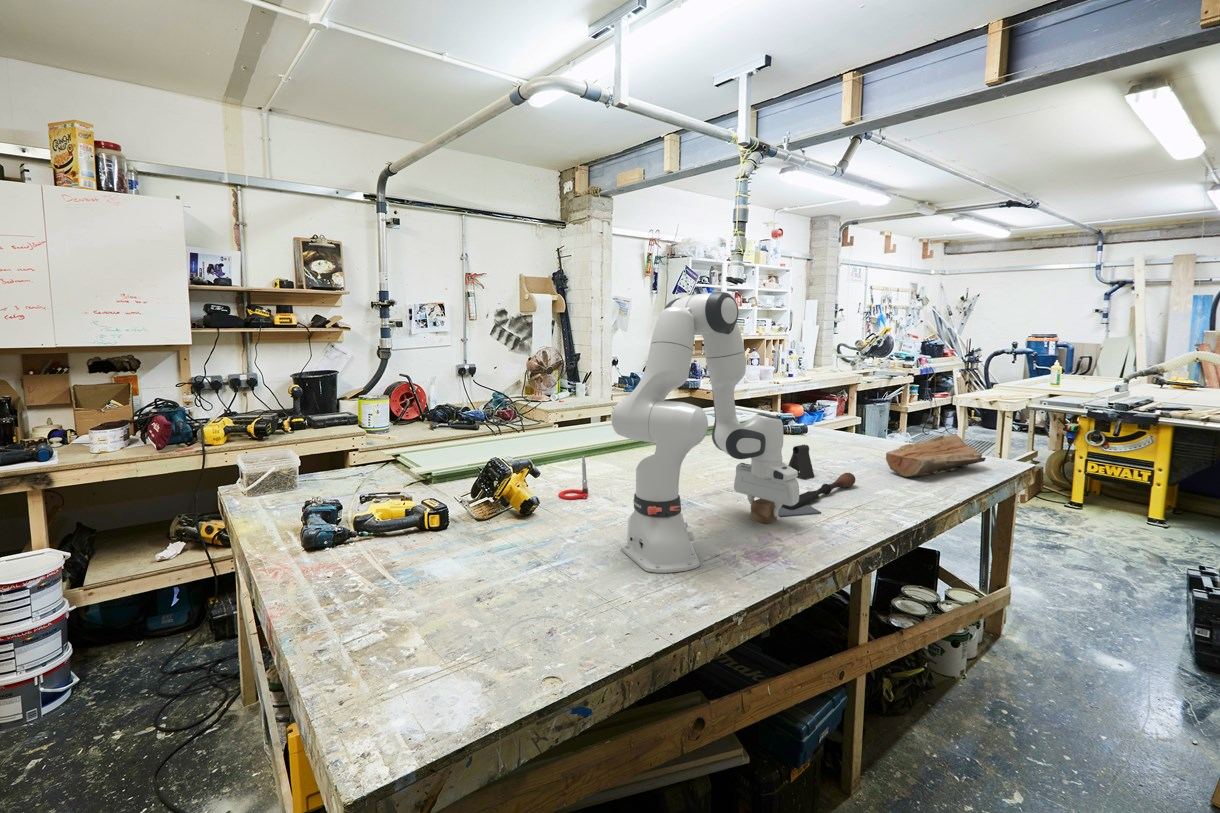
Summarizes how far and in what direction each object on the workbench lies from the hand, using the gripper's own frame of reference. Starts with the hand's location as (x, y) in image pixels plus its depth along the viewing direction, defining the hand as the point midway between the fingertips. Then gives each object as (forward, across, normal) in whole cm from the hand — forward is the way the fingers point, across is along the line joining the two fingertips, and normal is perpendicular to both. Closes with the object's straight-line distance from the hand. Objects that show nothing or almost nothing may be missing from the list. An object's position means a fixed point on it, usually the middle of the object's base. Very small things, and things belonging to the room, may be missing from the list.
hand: (764, 512), depth 169 cm
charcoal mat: (+2, 0, +15) cm, 15 cm away
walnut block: (+2, 0, 0) cm, 2 cm away
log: (+3, +17, +99) cm, 100 cm away
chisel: (+2, +1, +34) cm, 34 cm away
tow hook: (+2, -56, -28) cm, 63 cm away
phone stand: (+2, -17, +52) cm, 55 cm away
